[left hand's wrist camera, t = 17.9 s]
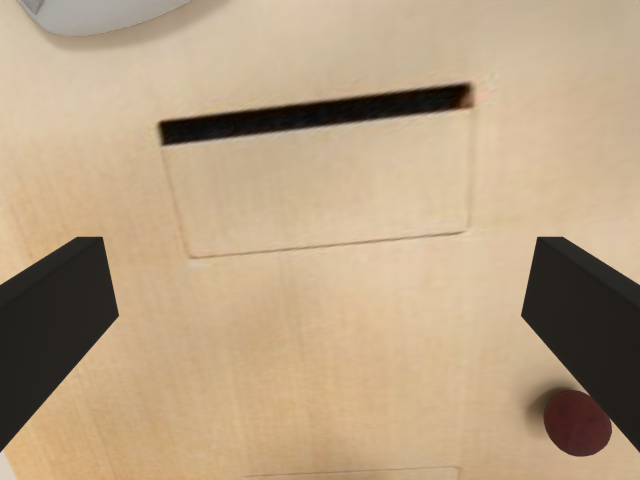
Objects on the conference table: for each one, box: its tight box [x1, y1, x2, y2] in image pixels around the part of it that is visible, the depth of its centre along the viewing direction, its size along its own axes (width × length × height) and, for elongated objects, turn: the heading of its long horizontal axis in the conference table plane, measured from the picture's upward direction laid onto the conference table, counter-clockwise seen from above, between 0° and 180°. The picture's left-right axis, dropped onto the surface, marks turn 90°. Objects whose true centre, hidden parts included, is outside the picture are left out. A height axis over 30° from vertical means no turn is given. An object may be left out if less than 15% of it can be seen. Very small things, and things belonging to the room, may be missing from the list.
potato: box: [544, 390, 612, 457], centre depth 51 cm, size 7×8×7 cm
